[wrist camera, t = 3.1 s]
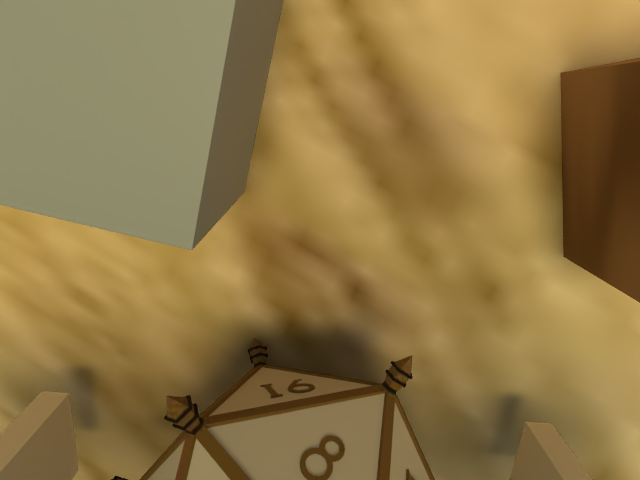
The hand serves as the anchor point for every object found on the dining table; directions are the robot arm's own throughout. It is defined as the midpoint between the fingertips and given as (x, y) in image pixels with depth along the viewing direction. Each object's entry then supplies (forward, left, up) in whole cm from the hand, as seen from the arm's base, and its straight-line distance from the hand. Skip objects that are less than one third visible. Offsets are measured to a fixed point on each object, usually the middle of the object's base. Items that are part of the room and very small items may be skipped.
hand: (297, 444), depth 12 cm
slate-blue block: (+10, +4, -2) cm, 11 cm away
